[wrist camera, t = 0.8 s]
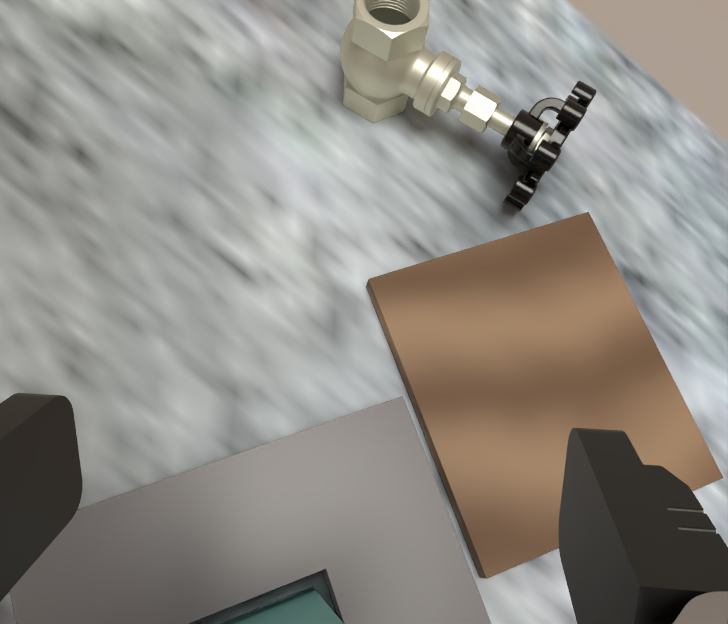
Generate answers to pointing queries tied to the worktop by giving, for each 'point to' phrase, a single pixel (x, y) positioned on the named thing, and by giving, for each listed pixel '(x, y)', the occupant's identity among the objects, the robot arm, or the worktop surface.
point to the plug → (291, 611)
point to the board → (529, 378)
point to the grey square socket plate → (268, 536)
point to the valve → (445, 88)
